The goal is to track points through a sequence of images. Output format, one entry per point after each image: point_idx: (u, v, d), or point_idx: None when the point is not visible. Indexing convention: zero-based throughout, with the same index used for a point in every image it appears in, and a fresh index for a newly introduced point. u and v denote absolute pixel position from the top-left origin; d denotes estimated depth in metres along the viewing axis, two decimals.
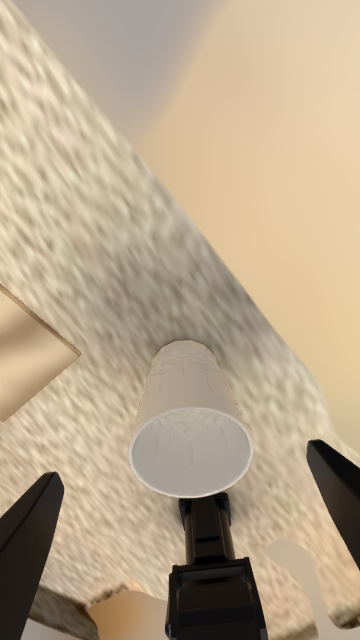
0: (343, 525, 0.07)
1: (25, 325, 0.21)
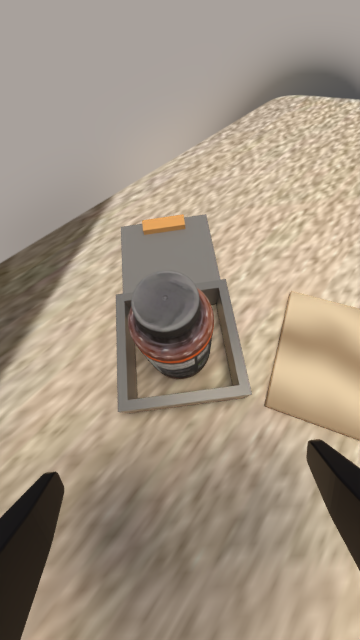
0: (343, 525, 0.07)
1: None
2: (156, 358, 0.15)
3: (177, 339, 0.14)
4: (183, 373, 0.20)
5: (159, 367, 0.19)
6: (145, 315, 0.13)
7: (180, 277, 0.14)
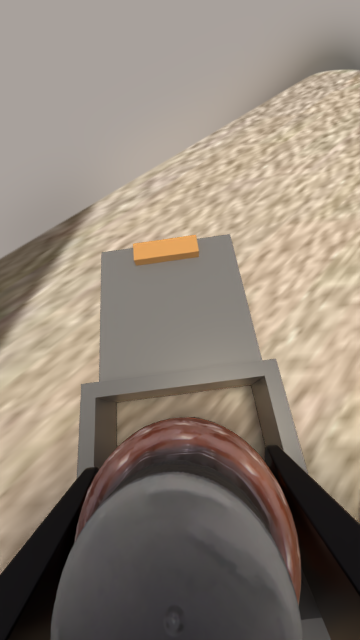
0: None
1: None
2: None
3: None
4: None
5: None
6: None
7: (225, 517, 0.04)
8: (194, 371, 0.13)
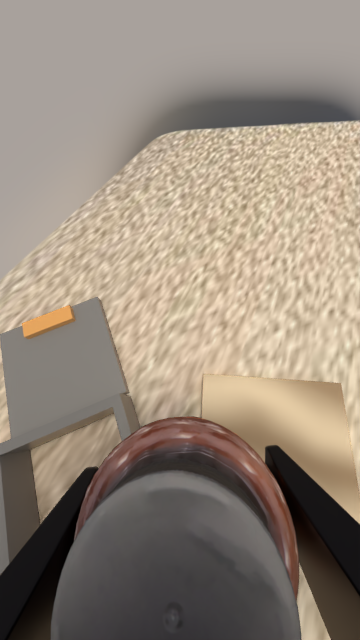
0: None
1: (341, 471, 0.19)
2: None
3: None
4: None
5: None
6: None
7: (224, 515, 0.04)
8: (66, 416, 0.19)
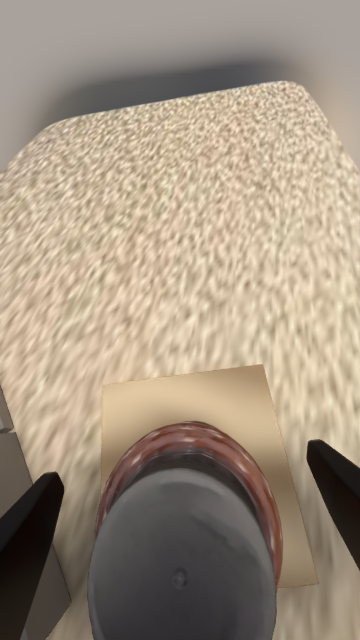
0: (343, 525, 0.07)
1: (272, 473, 0.15)
2: None
3: None
4: None
5: None
6: None
7: (220, 503, 0.05)
8: None
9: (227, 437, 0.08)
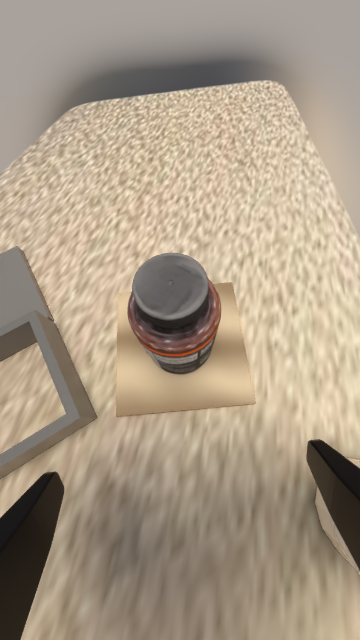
0: (343, 525, 0.07)
1: (233, 345, 0.22)
2: (156, 350, 0.14)
3: (181, 330, 0.13)
4: (183, 368, 0.19)
5: (158, 360, 0.17)
6: (147, 300, 0.12)
7: (188, 261, 0.13)
8: None
9: None
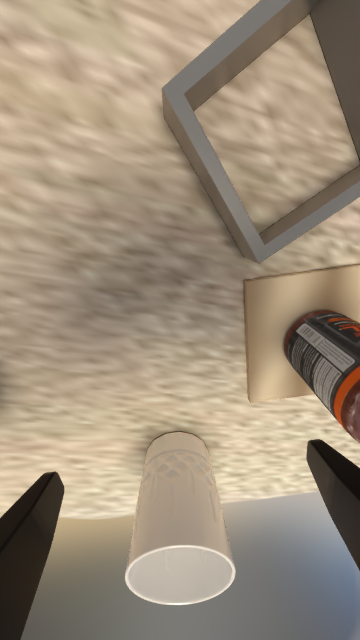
0: (343, 525, 0.07)
1: (304, 386, 0.23)
2: (351, 393, 0.13)
3: None
4: (298, 365, 0.18)
5: (318, 355, 0.16)
6: None
7: None
8: None
9: None
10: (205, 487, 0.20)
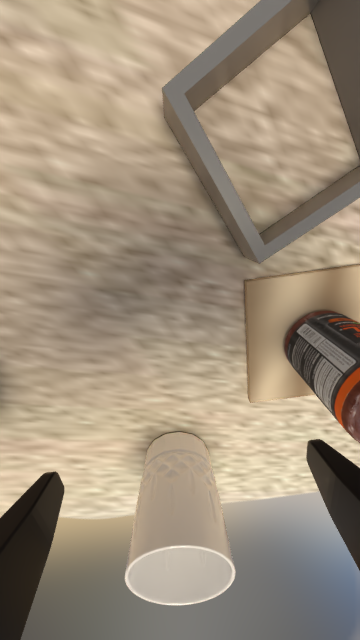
0: (343, 525, 0.07)
1: (304, 386, 0.23)
2: (352, 394, 0.13)
3: None
4: (299, 365, 0.18)
5: (319, 356, 0.16)
6: None
7: None
8: None
9: None
10: (205, 487, 0.20)
